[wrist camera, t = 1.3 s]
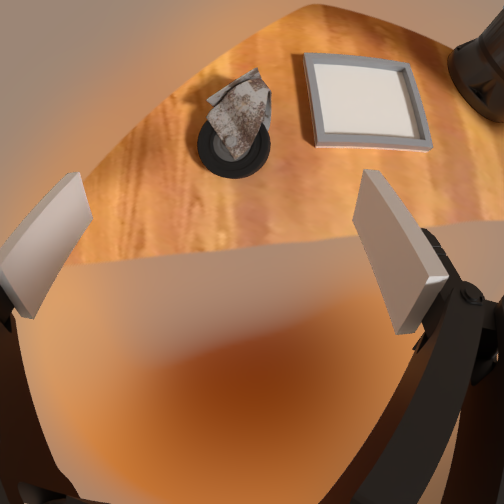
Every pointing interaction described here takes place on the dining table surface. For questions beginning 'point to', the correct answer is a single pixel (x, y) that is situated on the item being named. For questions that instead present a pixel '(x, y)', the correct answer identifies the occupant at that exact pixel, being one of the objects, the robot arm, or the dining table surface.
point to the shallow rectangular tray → (365, 103)
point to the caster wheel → (237, 128)
